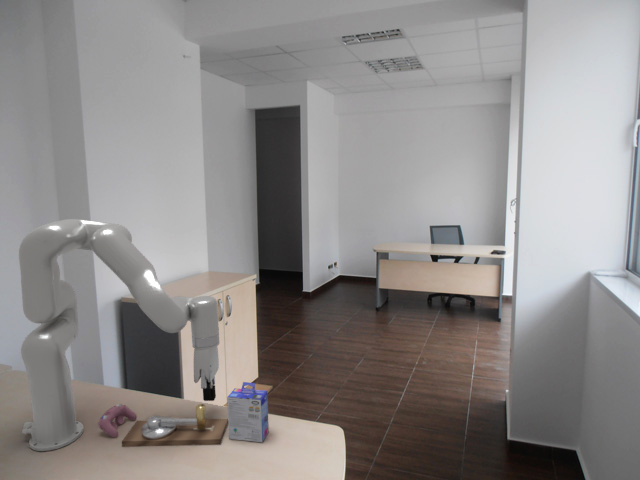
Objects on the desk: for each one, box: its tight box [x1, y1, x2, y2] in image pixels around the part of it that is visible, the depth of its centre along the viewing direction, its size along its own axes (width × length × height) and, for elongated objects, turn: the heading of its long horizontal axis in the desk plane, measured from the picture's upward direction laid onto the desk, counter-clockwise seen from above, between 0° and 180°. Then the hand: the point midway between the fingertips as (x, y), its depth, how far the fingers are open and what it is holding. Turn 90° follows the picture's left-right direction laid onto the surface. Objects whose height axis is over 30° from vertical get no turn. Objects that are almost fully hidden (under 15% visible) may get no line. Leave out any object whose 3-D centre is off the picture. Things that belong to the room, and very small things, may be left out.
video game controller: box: [98, 403, 138, 438], centre depth 118 cm, size 10×5×7 cm, turn 170°
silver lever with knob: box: [141, 403, 207, 439], centre depth 114 cm, size 18×9×7 cm, turn 88°
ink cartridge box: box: [226, 381, 270, 443], centre depth 113 cm, size 10×6×14 cm, turn 78°
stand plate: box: [121, 418, 229, 448], centre depth 115 cm, size 26×10×2 cm, turn 90°
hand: (209, 399), depth 122 cm, fingers closed
